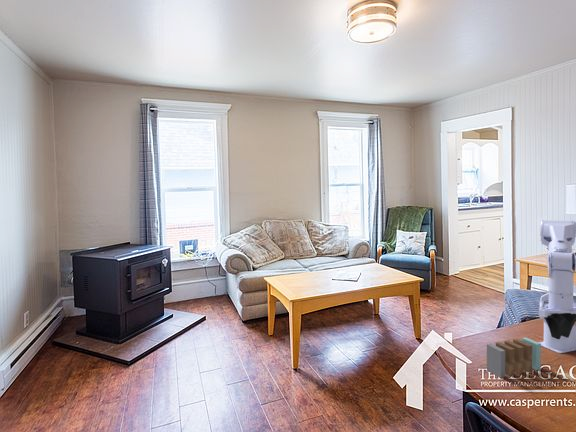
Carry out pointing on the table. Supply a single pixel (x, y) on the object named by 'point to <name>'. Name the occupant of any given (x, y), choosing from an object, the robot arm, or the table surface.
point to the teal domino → (534, 353)
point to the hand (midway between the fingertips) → (560, 337)
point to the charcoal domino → (496, 360)
